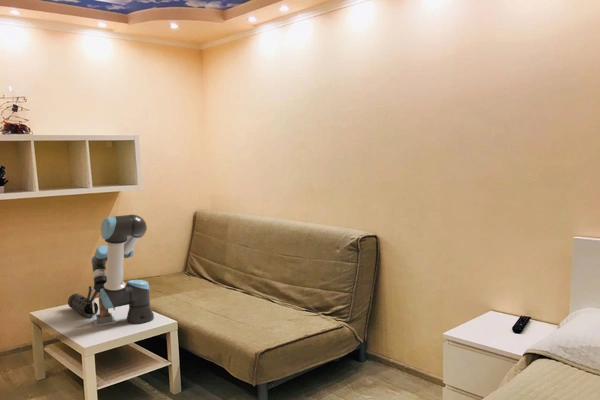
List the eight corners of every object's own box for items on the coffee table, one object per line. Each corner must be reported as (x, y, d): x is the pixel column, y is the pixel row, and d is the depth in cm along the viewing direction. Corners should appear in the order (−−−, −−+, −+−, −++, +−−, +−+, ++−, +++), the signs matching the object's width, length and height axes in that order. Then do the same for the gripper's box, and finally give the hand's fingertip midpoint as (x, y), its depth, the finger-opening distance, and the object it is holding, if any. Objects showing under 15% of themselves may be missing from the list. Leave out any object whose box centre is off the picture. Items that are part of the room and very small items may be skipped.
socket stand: (113, 318, 293) (113, 311, 293) (115, 323, 283) (115, 316, 283) (93, 321, 288) (93, 314, 288) (95, 326, 278) (94, 319, 278)
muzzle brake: (83, 320, 291) (82, 303, 290) (67, 310, 311) (66, 294, 311) (99, 316, 298) (98, 299, 297) (82, 307, 318) (81, 291, 317)
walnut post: (108, 318, 289) (106, 295, 287) (109, 320, 285) (107, 297, 283) (100, 320, 287) (98, 296, 285) (100, 322, 283) (99, 298, 281)
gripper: (120, 279, 303) (124, 310, 290) (79, 284, 293) (82, 317, 280) (120, 272, 297) (125, 304, 285) (79, 277, 287) (82, 310, 275)
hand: (104, 310), depth 282 cm, fingers open, 10 cm apart
